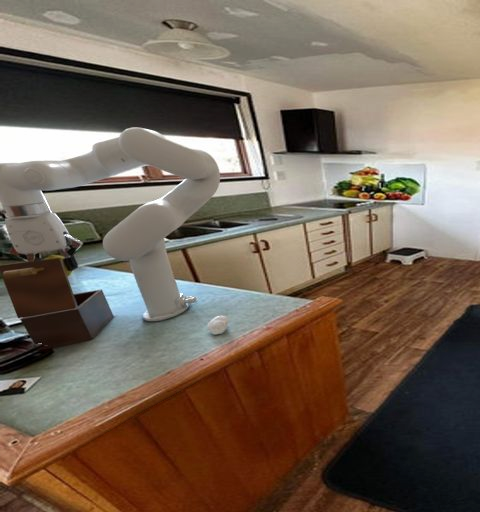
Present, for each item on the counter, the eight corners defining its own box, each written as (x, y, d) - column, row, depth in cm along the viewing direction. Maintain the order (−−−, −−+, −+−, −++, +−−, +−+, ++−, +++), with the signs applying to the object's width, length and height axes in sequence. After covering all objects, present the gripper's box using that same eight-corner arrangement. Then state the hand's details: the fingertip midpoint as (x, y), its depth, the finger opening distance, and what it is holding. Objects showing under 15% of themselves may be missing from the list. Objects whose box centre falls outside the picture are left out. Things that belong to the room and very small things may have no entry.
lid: (0, 265, 70) (-21, 268, 65) (61, 257, 74) (46, 260, 69) (20, 317, 72) (2, 324, 67) (77, 307, 76) (64, 313, 72)
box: (68, 325, 87) (53, 297, 84) (114, 316, 92) (102, 289, 88) (38, 350, 76) (19, 319, 72) (92, 339, 80) (77, 308, 76)
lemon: (57, 284, 78) (44, 258, 75) (45, 283, 79) (31, 257, 76) (81, 276, 83) (70, 251, 80) (69, 275, 84) (57, 251, 81)
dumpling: (235, 327, 83) (232, 318, 81) (221, 339, 79) (217, 330, 77) (217, 320, 85) (214, 311, 83) (203, 332, 81) (199, 322, 79)
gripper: (-30, 217, 68) (8, 282, 74) (61, 209, 73) (89, 270, 80) (-3, 212, 74) (30, 272, 81) (78, 205, 80) (103, 262, 86)
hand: (59, 270), depth 80 cm, fingers closed on lemon, 5 cm apart
